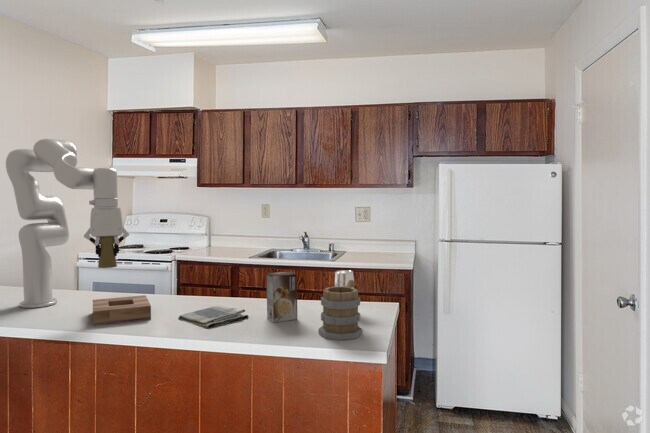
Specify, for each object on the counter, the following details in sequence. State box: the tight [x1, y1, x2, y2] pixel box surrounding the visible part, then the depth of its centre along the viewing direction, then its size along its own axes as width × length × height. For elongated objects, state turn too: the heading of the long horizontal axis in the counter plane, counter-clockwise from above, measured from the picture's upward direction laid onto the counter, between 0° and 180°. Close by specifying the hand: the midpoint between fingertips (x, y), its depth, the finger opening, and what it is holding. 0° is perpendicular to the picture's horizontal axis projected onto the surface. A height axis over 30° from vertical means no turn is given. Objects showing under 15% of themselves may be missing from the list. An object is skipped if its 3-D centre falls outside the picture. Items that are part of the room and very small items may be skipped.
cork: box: [97, 236, 118, 269], centre depth 166 cm, size 6×6×11 cm
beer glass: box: [334, 269, 355, 288], centre depth 175 cm, size 7×7×15 cm
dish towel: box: [178, 305, 249, 329], centre depth 166 cm, size 19×18×3 cm
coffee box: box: [266, 271, 298, 323], centre depth 165 cm, size 9×6×16 cm
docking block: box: [92, 294, 152, 326], centre depth 168 cm, size 18×18×5 cm
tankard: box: [318, 280, 363, 341], centre depth 152 cm, size 20×13×15 cm, turn 157°
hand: (107, 255), depth 166 cm, fingers closed on cork, 4 cm apart
